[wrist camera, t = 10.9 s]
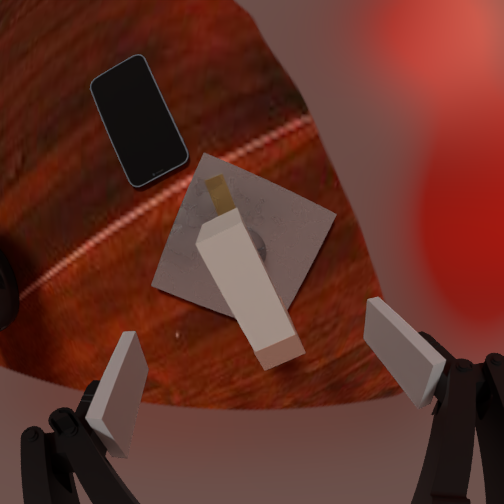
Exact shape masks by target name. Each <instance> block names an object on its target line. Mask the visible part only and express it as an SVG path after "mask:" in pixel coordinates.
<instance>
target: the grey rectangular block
mask: <svg viewBox="0 0 504 504" xmlns="http://www.w3.org/2000/svg"><path fill="white" fill-rule="evenodd" d="M195 245H196V247H197V248H198V250H199V252H200V254H201V256H202V258H203V260H204V262H205V264H206V265H207V267H208V269H209V271H210V273H211V275H212V276H213V278H214V280H215V282H216V284H217V286H218V287H219V289H220V291H221V293H222V295H223V296H224V298H225V300H226V302H227V304H228V305H229V307H230V309H231V311H232V313H233V314H234V316H235V318H236V320H237V321H238V323H239V325H240V327H241V328H242V330H243V332H244V334H245V335H246V337H247V339H248V340H249V342H250V344H251V346H252V347H253V350H254V354H255V355H256V357H257V359H258V360H259V362H260V364H261V365H262V367H263V369H264V370H268V369H270V368H272V367H275V366H277V365H280V364H282V363H284V362H287V361H289V360H291V359H293V358H296V357H298V356H300V355H302V354H304V353H306V352H305V350H304V348H303V346H302V343H301V341H300V339H299V336H298V334H297V332H296V329H295V327H294V325H293V323H292V320H291V318H290V316H289V313H288V311H287V309H286V307H285V305H284V303H283V301H282V298H281V296H279V295H278V293H277V290H276V288H275V286H274V284H273V282H272V280H271V278H270V276H269V273H268V271H267V269H266V267H265V265H264V263H263V260H262V258H261V256H260V254H259V252H258V250H257V248H256V246H255V244H254V242H253V240H252V237H251V235H250V233H249V231H248V229H247V227H246V225H245V223H244V221H243V218H242V216H241V214H240V212H239V210H238V208H235V209H233V210H231V211H229V212H226V213H224V214H222V215H220V216H218V217H216V218H214V219H212V220H210V221H208V222H206V223H204V224H202V227H201V230H200V232H199V235H198V238H197V241H196V244H195Z"/></svg>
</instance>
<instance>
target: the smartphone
mask: <svg viewBox="0 0 504 504" xmlns="http://www.w3.org/2000/svg"><path fill="white" fill-rule="evenodd" d="M90 90H91V93H92V95H93V98H94V100H95V103H96V106H97V108H98V111H99V113H100V116H101V118H102V121H103V123H104V126H105V128H106V130H107V133H108V135H109V138H110V140H111V142H112V145H113V147H114V149H115V152H116V154H117V156H118V158H119V161H120V163H121V165H122V167H123V170H124V172H125V174H126V176H127V178H128V180H129V182H130V184H131V185H132V186H134V187H141V186H143V185H145V184H147V183H149V182H151V181H153V180H155V179H156V178H158V177H160V176H162V175H164V174H166V173H168V172H170V171H172V170H174V169H176V168H177V167H179V166H181V165H183V164H185V163H186V162H187V160H188V158H189V153H188V150H187V148H186V146H185V143H184V140H183V138H182V136H181V135H180V132H179V130H178V128H177V126H176V124H175V122H174V119H173V117H172V115H171V113H170V111H169V109H168V107H167V105H166V103H165V100H164V98H163V96H162V94H161V92H160V90H159V87H158V85H157V83H156V81H155V79H154V77H153V74H152V72H151V70H150V68H149V66H148V63H147V61H146V59H145V58H144V56H142V55H134V56H132V57H130V58H128V59H126V60H125V61H123V62H121V63H119V64H118V65H116V66H114V67H112V68H111V69H109V70H107V71H106V72H104V73H103V74H101V75H99V76H98V77H96V78H95V79H94V80H93V81H92V82H91V85H90Z"/></svg>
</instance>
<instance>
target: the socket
mask: <svg viewBox="0 0 504 504" xmlns="http://www.w3.org/2000/svg"><path fill="white" fill-rule="evenodd" d="M235 208H238V210H239V212H240V214H241V216H242V218H243V221H244V223H245V225H246V227H247V229H248V231H249V233H250V235H251V237H252V240H253V242H254V244H255V246H256V248H257V250H258V252H259V254H260V256H261V258H262V260H263V263H264V265H265V267H266V269H267V271H268V273H269V276H270V278H271V280H272V282H273V284H274V286H275V288H276V290H277V293H278V295H279V296H281V298H282V301H283V303H284V305H285V307H286V309H287V310H288V308H289V306H290V304H291V302H292V301H293V299H294V297H295V295H296V293H297V291H298V289H299V288H300V286H301V284H302V282H303V280H304V278H305V276H306V274H307V272H308V271H309V269H310V267H311V265H312V263H313V261H314V259H315V257H316V255H317V253H318V251H319V249H320V247H321V245H322V243H323V241H324V239H325V237H326V235H327V233H328V231H329V229H330V227H331V225H332V223H333V221H334V219H335V217H336V215H337V214H335V213H333V212H331V211H329V210H327V209H325V208H323V207H321V206H319V205H317V204H315V203H313V202H311V201H309V200H307V199H305V198H303V197H301V196H299V195H297V194H295V193H293V192H291V191H289V190H287V189H285V188H283V187H281V186H278V185H276V184H274V183H272V182H270V181H268V180H266V179H263V178H261V177H259V176H257V175H255V174H252V173H250V172H248V171H246V170H243V169H241V168H239V167H237V166H234V165H232V164H230V163H227V162H225V161H223V160H220V159H218V158H216V157H213V156H211V155H209V154H206V153H203V156H202V158H201V160H200V162H199V165H198V167H197V169H196V171H195V174H194V176H193V178H192V181H191V183H190V185H189V188H188V190H187V192H186V195H185V197H184V200H183V202H182V204H181V207H180V209H179V212H178V214H177V217H176V219H175V222H174V224H173V227H172V230H171V232H170V235H169V238H168V240H167V243H166V245H165V248H164V251H163V254H162V256H161V259H160V262H159V265H158V268H157V270H156V273H155V276H154V279H153V282H152V285H151V286H153V287H155V288H158V289H160V290H163V291H165V292H168V293H170V294H173V295H175V296H178V297H180V298H183V299H185V300H188V301H190V302H193V303H196V304H198V305H201V306H204V307H206V308H209V309H212V310H214V311H217V312H220V313H222V314H225V315H228V316H231V317H234V318H235V316H234V314H233V313H232V311H231V309H230V307H229V305H228V304H227V302H226V300H225V298H224V296H223V295H222V293H221V291H220V289H219V287H218V286H217V284H216V282H215V280H214V278H213V276H212V275H211V273H210V271H209V269H208V267H207V265H206V264H205V262H204V260H203V258H202V256H201V254H200V252H199V250H198V248H197V247H196V245H195V244H196V241H197V238H198V235H199V232H200V230H201V227H202V224H204V223H206V222H208V221H210V220H212V219H214V218H216V217H218V216H220V215H222V214H224V213H226V212H229V211H231V210H233V209H235Z"/></svg>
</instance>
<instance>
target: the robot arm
mask: <svg viewBox="0 0 504 504" xmlns="http://www.w3.org/2000/svg"><path fill="white" fill-rule="evenodd" d="M18 309H19V294H18V288H17V283H16V280H15V277H14V274H13V271H12V269H11V267H10V265H9V263H8V261H7V259H6V257H5V256H4V254H3V253H2V251H1V250H0V331H2V330H4V329H5V328H6V327H8V326H9V325H10V324H11V323H12V322H13V321H14V320H15V318H16V316H17V313H18ZM363 339H364V340H365V341H366V342H367V344H368V345H369V346H370V347H371V349H372V350H373V351H374V353H375V354H376V355H377V356H378V358H379V359H380V360H381V362H382V363H383V364H384V365H385V367H386V368H387V369H388V371H389V372H390V373H391V374H392V376H393V377H394V378H395V380H396V381H397V382H398V384H399V385H400V386H401V387H402V389H403V390H404V391H405V393H406V394H407V395H408V397H409V398H410V399H411V401H412V402H413V403H414V405H415V406H416V407H417V409H420V408H422V407H424V406H426V405H429V404H430V403H431V401H432V398H433V396H435V397H436V398H437V399H438V401H437V403H436V405H435V407H434V410H433V412H432V415H434V418H433V423H432V429H431V434H430V439H429V443H428V447H427V451H426V456H425V459H424V463H423V467H422V471H421V474H420V478H419V481H418V484H417V488H416V491H415V493H414V496H413V499H412V502H411V504H470V499H467V497H466V494H467V489H468V483H469V477H470V471H471V464H472V456H473V447H474V435H475V427H476V431H477V436H478V442H479V447H480V452H481V459H482V466H483V474H484V482H485V492H486V504H504V356H502V355H501V354H498V353H491V354H489V355H487V357H486V359H485V362H484V363H479V364H473V363H472V362H471V361H469V360H466V359H455V358H454V357H453V356H452V355H451V354H450V353H449V352H448V351H447V350H446V349H445V348H444V347H443V346H441V345H440V344H439V343H438V342H436V340H435V339H434V338H433V337H431V336H430V335H429V334H427V333H425V332H418V333H417V332H416V331H415V330H414V329H413V328H412V327H411V326H410V325H409V324H408V323H407V322H406V321H404V320H403V319H402V318H401V317H400V316H399V315H398V314H397V313H396V312H395V311H393V310H392V309H391V308H390V307H389V306H388V305H387V304H386V303H385V302H383V301H382V300H381V299H380V298H379V297H376V298H371V299H367V308H366V319H365V329H364V338H363ZM148 370H149V369H148V366H147V363H146V361H145V358H144V355H143V352H142V349H141V346H140V343H139V340H138V337H137V334H136V331H129V332H123V333H122V336H121V338H120V340H119V342H118V344H117V346H116V348H115V350H114V352H113V355H112V357H111V359H110V361H109V363H108V365H107V368H106V370H105V372H104V374H103V377H102V379H101V381H99V380H93V381H92V382H91V383H90V384H89V385H88V386H87V388H86V390H85V392H84V396H82V399H81V401H80V403H79V405H78V407H77V410H76V412H75V413H74V411H73V410H72V409H70V408H64V407H63V408H59V409H57V410H55V411H54V412H52V414H51V415H50V417H49V420H48V421H49V425H50V426H51V427H52V429H53V430H54V432H53V433H44V432H43V430H41V428H39V427H37V426H32V427H29V428H27V429H26V430H24V432H23V433H22V435H21V475H22V488H23V498H24V504H80V502H79V498H78V494H77V490H76V486H75V482H74V477H73V472H75V473H76V475H77V477H78V479H79V481H80V483H81V484H82V486H83V488H84V490H85V492H86V493H87V495H88V497H89V498H90V500H91V502H92V503H93V504H140V503H139V502H138V501H137V499H136V498H135V497H134V496H133V494H132V493H131V492H130V490H129V489H128V488H127V487H126V485H125V484H124V482H123V481H122V480H121V478H120V477H119V476H118V474H117V473H116V471H115V470H114V469H113V467H112V466H111V464H110V463H109V461H108V460H107V459H106V457H105V455H106V451H108V452H109V453H110V455H111V456H112V457H118V458H127V457H128V453H129V448H130V444H131V439H132V435H133V430H134V425H135V421H136V417H137V413H138V408H139V405H140V401H141V397H142V393H143V389H144V385H145V381H146V378H147V374H148Z"/></svg>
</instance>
